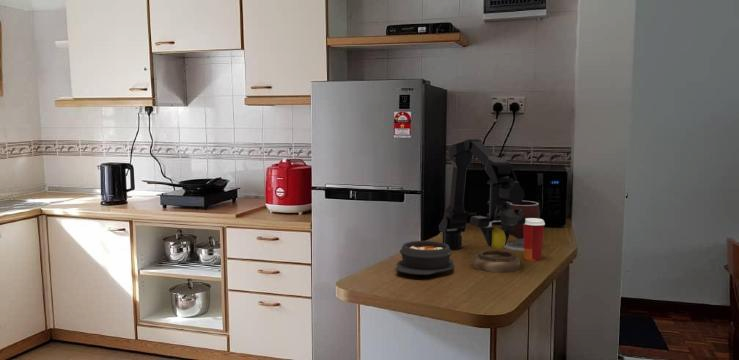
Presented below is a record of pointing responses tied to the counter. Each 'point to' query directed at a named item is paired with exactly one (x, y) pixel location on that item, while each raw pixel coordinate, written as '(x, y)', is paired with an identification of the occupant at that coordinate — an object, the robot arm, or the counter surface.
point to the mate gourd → (528, 211)
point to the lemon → (498, 238)
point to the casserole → (425, 258)
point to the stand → (496, 261)
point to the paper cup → (533, 238)
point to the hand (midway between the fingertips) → (497, 245)
